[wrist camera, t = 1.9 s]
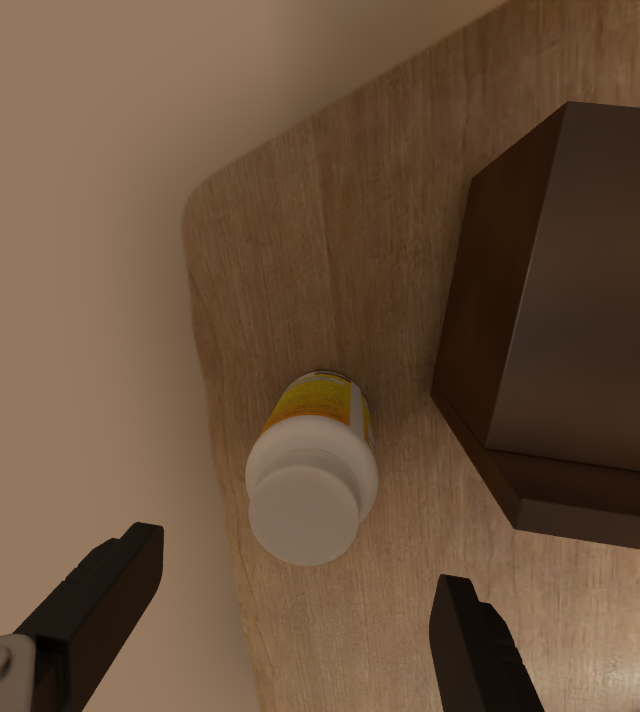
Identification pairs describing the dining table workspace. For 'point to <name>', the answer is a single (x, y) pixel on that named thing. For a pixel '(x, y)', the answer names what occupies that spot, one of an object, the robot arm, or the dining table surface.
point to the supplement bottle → (313, 471)
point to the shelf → (552, 327)
